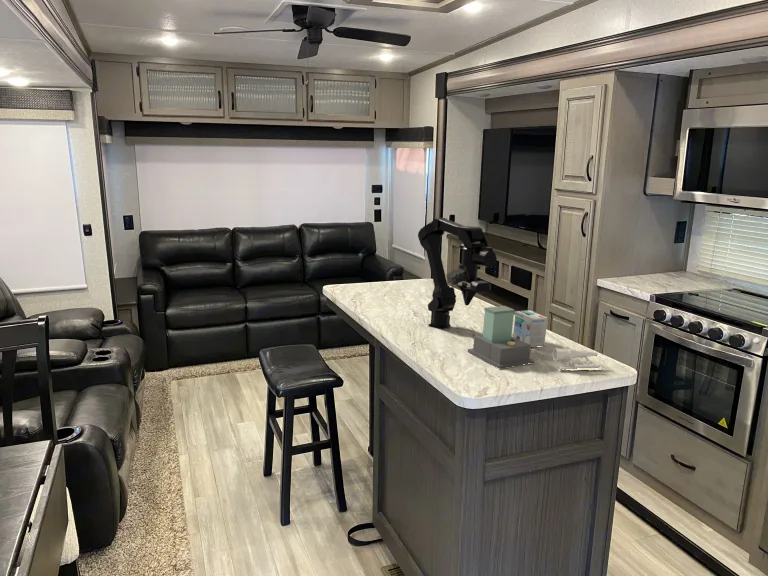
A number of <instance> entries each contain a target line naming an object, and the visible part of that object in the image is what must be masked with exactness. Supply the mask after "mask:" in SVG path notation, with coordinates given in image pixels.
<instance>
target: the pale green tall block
mask: <svg viewBox="0 0 768 576" xmlns="http://www.w3.org/2000/svg"><path fill="white" fill-rule="evenodd" d="M483 310H484V317H483V328H482V337H483V338H485V339H487V340H489V341H491V342H493V343H495V344H498V343H505V342H508V341H511V338H512V337H513V329H514V319H515V313H516V310H515V309H514V308H511V307H510V306H509V307H508V306H506V305H501V306H490V307H484V308H483Z"/></svg>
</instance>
